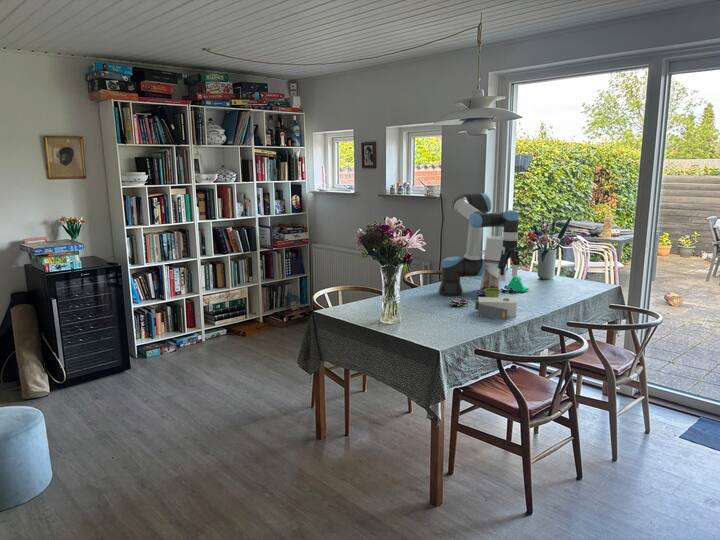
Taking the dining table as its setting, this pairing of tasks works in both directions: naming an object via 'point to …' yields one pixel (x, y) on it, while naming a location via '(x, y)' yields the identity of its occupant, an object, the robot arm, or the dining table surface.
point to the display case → (492, 262)
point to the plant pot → (492, 292)
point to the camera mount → (517, 284)
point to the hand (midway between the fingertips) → (508, 278)
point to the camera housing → (498, 304)
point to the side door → (493, 311)
